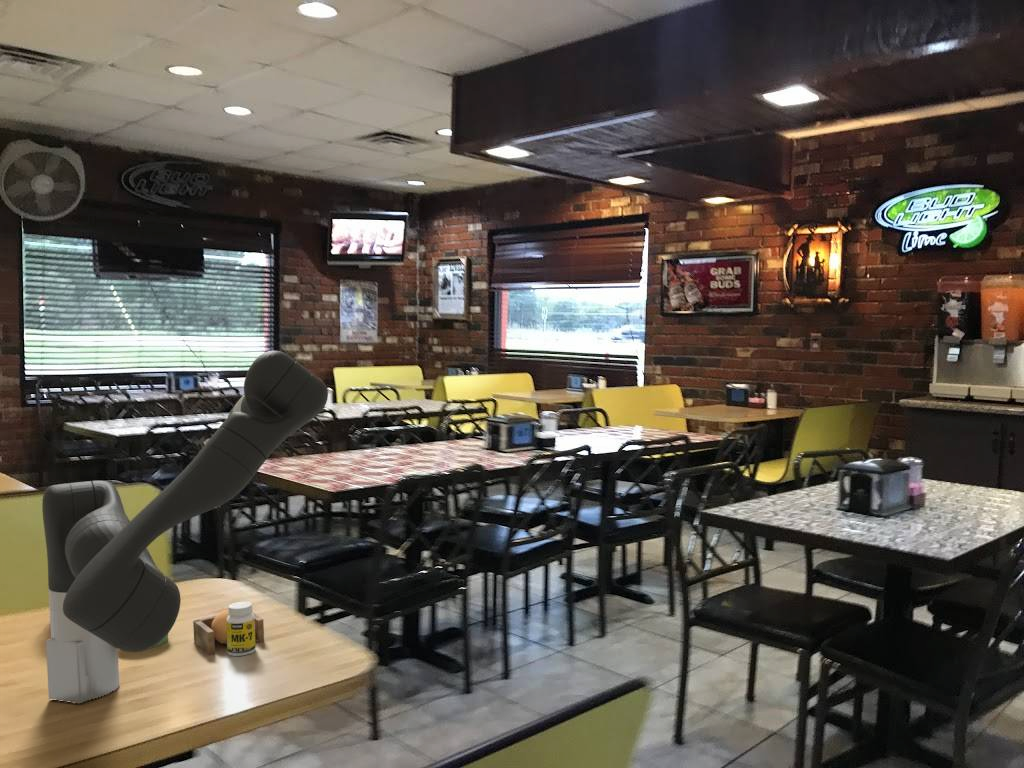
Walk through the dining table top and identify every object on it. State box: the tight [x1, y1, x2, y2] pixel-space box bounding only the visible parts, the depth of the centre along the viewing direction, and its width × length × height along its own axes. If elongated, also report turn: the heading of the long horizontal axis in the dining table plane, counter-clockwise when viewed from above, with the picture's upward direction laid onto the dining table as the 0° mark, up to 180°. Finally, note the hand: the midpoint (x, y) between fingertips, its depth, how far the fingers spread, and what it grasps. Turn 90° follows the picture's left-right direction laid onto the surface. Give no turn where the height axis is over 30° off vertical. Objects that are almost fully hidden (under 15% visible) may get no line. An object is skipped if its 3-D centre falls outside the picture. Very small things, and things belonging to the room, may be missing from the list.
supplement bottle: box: [226, 601, 256, 657], centre depth 146 cm, size 5×5×8 cm
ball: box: [211, 609, 229, 645], centre depth 150 cm, size 6×6×6 cm
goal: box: [192, 611, 265, 656], centre depth 151 cm, size 8×10×4 cm
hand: (236, 440), depth 135 cm, fingers open, 8 cm apart
